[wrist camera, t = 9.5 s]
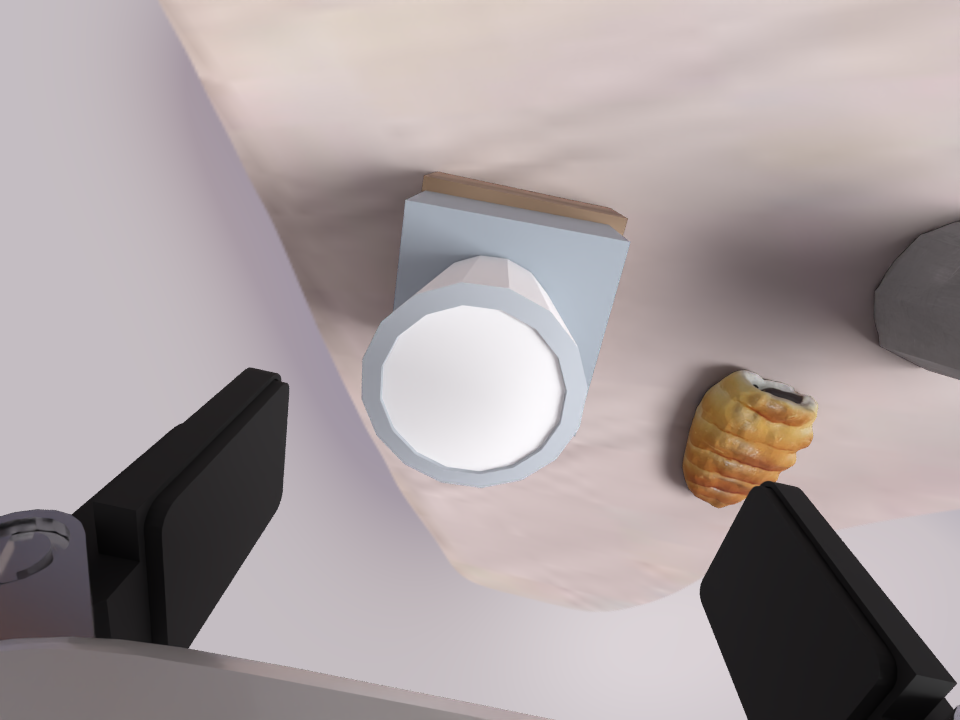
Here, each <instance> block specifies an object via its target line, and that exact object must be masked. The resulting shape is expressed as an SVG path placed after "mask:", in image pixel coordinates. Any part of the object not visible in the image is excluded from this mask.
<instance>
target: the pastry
mask: <svg viewBox="0 0 960 720" xmlns="http://www.w3.org/2000/svg"><path fill="white" fill-rule="evenodd" d="M817 410H818V403H817V402H816V401H815V400H814V399H813V398H812V397H811V396H807V395H803V394H800V393H797V392H795V391H794V389H793V388H792V387H791V386H789V385H787V384H784V383H781V382H774V381H770V380H763V379H762V378H761V376H759V375H758V374H756V373H754V372H750V371H747V370H741V371H736V372H733V373H732V374H730V375H728V376H727V377H725V378H724V379H722V380H721V381H720V382H719V383H717V384H716V385H714V386H713V387H711V388H710V389H709V390H708V391H707V392H706V393H705V395H704V397H703V399H702V401H701V402H700V404H699V406H697V409H696V412H695V416H694V418H693V420H692V425H691V428H690V431H689V436H688V440H687V445H686V449H685V454H684V459H683V465H682V467H683V473H684V478H685V481H686V483H687V486H688V488H689V490H690V491H691V492H692V493H693V494H694V495H695V496H696V497H698V498H700V499H702V500H703V501H706V502H708V503H710V504H711V505H712V506H714V507H717V508H722V507H725V506H727V505H732V504H736V503H738V502H740V501H742V500H743V499H745V498H746V497H747V495H748V494H749V492H750V490H751V489H752V488H753V487H754V486H760V484H762V483H763V482H765V481H772V482H776V481H777V479H778V476H779V474H780V472H782V471H784V470H786V469H788V468H789V467H791V466H793V465H794V464H795V462H796V452H797V451H798V450H800V449H803V448H806V447H808V446H809V445H810V443H811V441H812V439H813V432H812V423H813V422H814V420H815V419H816V417H817Z"/></svg>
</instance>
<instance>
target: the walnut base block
mask: <svg viewBox="0 0 960 720" xmlns="http://www.w3.org/2000/svg"><path fill="white" fill-rule="evenodd" d="M425 190H426V191H431V192H436V193H442V194H447V195H452V196H458V197H463V198H468V199H474V200H479V201H484V202H490V203H495V204H500V205H506V206H511V207H516V208H522V209H527V210H532V211H538V212H543V213H548V214H554V215H559V216H564V217H570V218H575V219H580V220H586V221H591V222H596V223H602V224H607V225H610V226H611V227H612V228H613V229H615V230H616V231H617V232H618V233H620V234H621V235H622V236H623V233H624V230H625V227H626V223H627V220H628V218H626V217H624V216H623V215H621V214H619V213H617V212H616V211H614V210H612V209H611V208H607V207H602V206H598V205H593V204H588V203H583V202H579V201H574V200H569V199H564V198H560V197H555V196H550V195H546V194H541V193H536V192H531V191H527V190H522V189H517V188H512V187H508V186H503V185H498V184H494V183H489V182H484V181H479V180H475V179H470V178H465V177H460V176H456V175H451V174H446V173H442V172H435V173H431V174H428V175H424V178H423V185H422V192H423V191H425Z"/></svg>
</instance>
